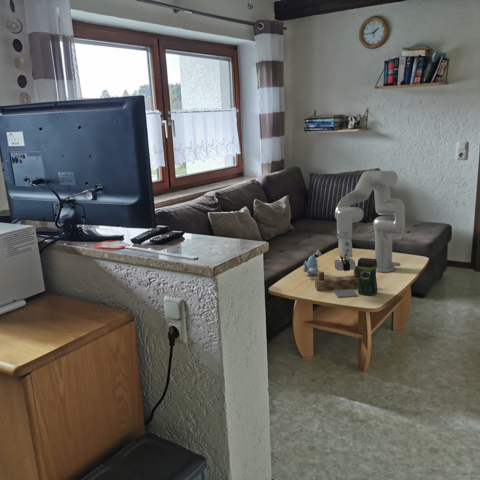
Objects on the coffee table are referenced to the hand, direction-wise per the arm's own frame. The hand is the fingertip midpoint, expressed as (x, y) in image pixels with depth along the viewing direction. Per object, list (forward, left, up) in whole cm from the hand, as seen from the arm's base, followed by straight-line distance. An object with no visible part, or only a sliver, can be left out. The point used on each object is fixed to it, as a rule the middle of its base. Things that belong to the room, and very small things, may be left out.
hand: (344, 268), depth 248 cm
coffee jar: (-11, +1, -14) cm, 18 cm away
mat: (0, 0, -14) cm, 14 cm away
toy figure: (+10, -36, -14) cm, 40 cm away
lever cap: (0, 0, 0) cm, 0 cm away
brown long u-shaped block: (0, -11, -14) cm, 18 cm away
